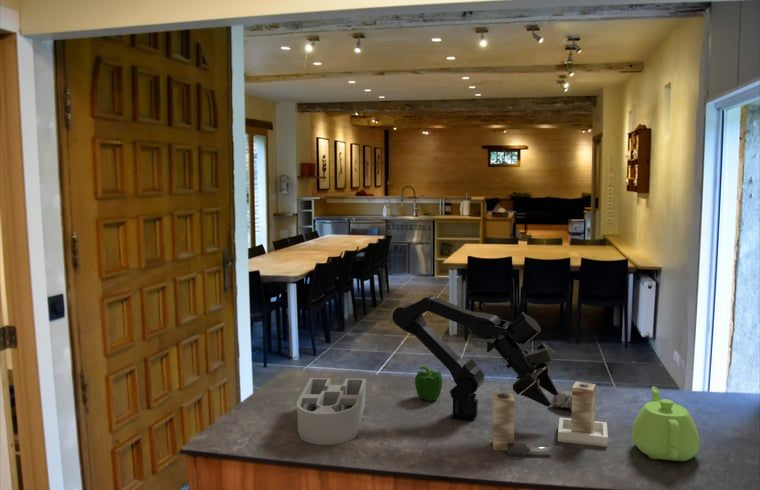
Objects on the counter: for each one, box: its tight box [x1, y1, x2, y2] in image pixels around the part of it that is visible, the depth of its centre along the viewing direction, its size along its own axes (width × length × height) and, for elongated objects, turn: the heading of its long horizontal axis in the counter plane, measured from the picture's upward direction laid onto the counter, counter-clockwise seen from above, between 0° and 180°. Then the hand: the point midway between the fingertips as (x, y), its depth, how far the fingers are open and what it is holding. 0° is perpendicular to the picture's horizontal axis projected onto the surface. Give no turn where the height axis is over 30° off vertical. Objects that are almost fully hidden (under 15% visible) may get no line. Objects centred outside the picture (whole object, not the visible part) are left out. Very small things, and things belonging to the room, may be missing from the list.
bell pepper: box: [414, 365, 443, 402], centre depth 194 cm, size 8×8×10 cm
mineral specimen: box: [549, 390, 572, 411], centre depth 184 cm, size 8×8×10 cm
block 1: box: [492, 392, 515, 452], centre depth 159 cm, size 5×5×13 cm
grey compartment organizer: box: [295, 377, 367, 446], centre depth 174 cm, size 17×28×9 cm, turn 176°
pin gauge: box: [506, 442, 553, 457], centre depth 155 cm, size 10×2×2 cm, turn 87°
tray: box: [557, 417, 609, 448], centre depth 165 cm, size 12×10×2 cm
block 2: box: [570, 381, 597, 434], centre depth 164 cm, size 5×5×13 cm
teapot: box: [631, 386, 700, 462], centre depth 155 cm, size 22×15×13 cm
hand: (553, 400), depth 168 cm, fingers open, 9 cm apart
